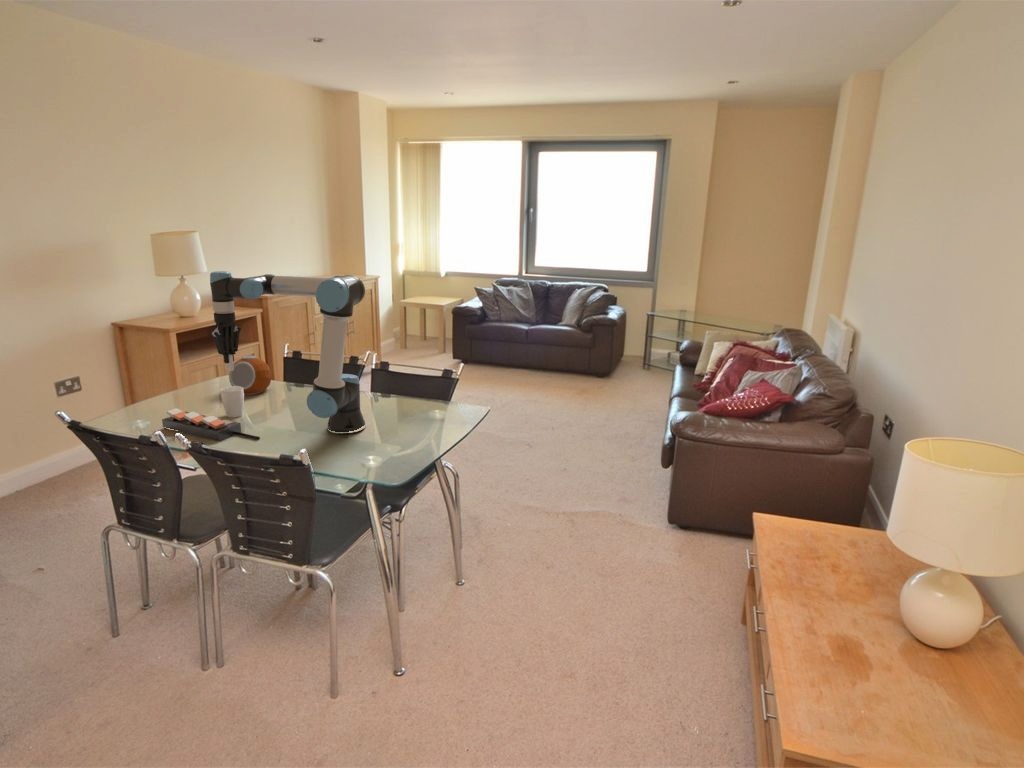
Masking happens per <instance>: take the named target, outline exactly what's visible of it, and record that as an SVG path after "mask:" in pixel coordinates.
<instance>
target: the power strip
mask: <svg viewBox="0 0 1024 768" xmlns="http://www.w3.org/2000/svg"><path fill="white" fill-rule="evenodd" d="M184 412H185V413H187V414H188V413H191V412H190V411H184ZM198 414H199V415H201V416H203V417H205V418H206V417H208V416H209V415H204V414H200V413H198ZM217 418H218V417H217ZM218 419H220V420H222V421H224V422H225V425H224V426H221V427H218V428H216V429H215V428H213V427H212V426H210V425H208V424H206V423H201V424H198V425H197V424H195V423H193V422H191V421H190V420H188V419H183V420H180V421H179V420H177V419H175V418H174V417H172V416H168V417H166V418H162V419H161V421H162V422H161V423H162V428H163V427H166V428H170V429H174V430H178V431H177V432H176V433H181V434H184V435H189V436H192V437H198V438H199V437H200V438H201V439H202V438H203V439H207V440H212V441H216V442H221V441H224V440H226V439H229V438H232V437H233V436H239V437H245V438H250V439H253V440H258V441H259V440H260V438H261V437H260V436H257V435H253V434H249V433H244V432H242V426H241V422H237V421H232V420H229V419H223V418H218ZM182 432H183V433H182Z"/></svg>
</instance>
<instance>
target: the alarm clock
mask: <svg viewBox="0 0 1024 768" xmlns="http://www.w3.org/2000/svg"><path fill="white" fill-rule="evenodd" d="M233 364H234V371H229V373H228V377H229V382H230V384H231V385H230V386H241V387H243V391H244V395H257V394H260V393H261V392H262V393H264V392H265V391H266V390H267V389H268V388H269V386H270V385H271V381H272V370H271V368H270V366H269V365H268V364H267V363H266V362H265V361H264V360H263V359H261V358H259V357H256V356H255V355H244V356H243V357H242V358H240V359H238V360H236V361H234V362H233ZM263 391H264V392H263ZM262 393H261V394H262Z"/></svg>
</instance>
